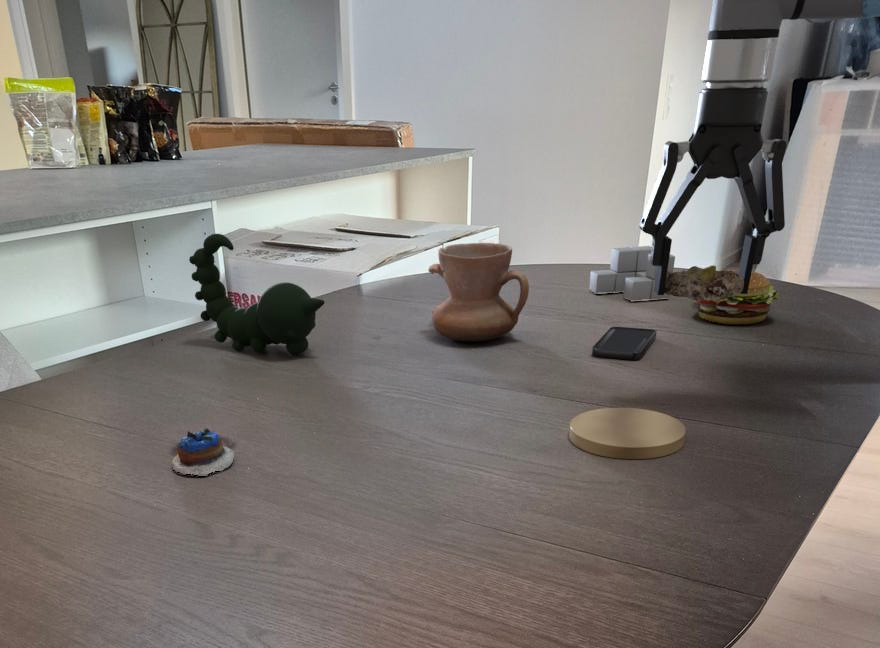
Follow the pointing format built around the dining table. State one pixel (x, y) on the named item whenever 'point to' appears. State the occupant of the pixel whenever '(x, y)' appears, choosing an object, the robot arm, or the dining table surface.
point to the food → (741, 304)
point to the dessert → (202, 454)
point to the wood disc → (627, 433)
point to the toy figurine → (254, 307)
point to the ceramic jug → (476, 292)
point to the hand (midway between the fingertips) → (699, 292)
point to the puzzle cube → (629, 274)
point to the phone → (624, 343)
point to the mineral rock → (703, 284)
